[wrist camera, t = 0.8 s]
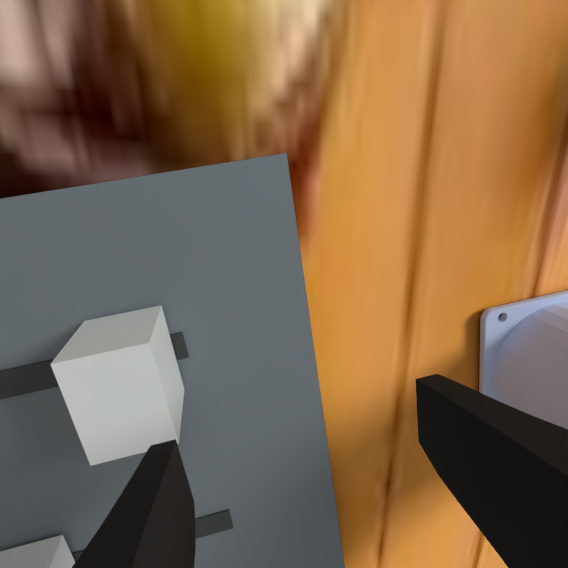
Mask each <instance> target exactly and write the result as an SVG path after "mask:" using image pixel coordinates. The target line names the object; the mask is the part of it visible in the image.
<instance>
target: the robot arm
mask: <svg viewBox="0 0 568 568" xmlns="http://www.w3.org/2000/svg"><path fill="white" fill-rule="evenodd" d="M501 313H502V315H501V317H500V318H499V319H498V317H499V315H500V314H501ZM416 394H417V415H418V436H419V442H420V444H421V446H422V448H423V449H424V451H425V453H426V455H427V456H428V458H429V460H430V462H431V463H432V465H433V467H434V468H435V470H436V472H437V473H438V475H439V476H440V478H441V479H442V480H443V482H444V483H445V485H446V486H447V487H448V489H449V490H450V491H451V493H452V494H453V495H454V497H455V498H456V499H457V501H458V502H459V503H460V505H461V506H462V507H463V508H464V510H465V511H466V512H467V514H468V515H469V516H470V518H471V519H472V520H473V521H474V523H475V524H476V525H477V527H478V528H479V529H480V531H481V532H482V533H483V535H484V536H485V537H486V539H487V540H488V541H489V542H490V544H491V545H492V546H493V548H494V549H495V550H496V552H497V553H498V554H499V556H500V557H501V558H502V559H503V561H504V562H505V564H506V565H507V566H508V568H568V290H566V291H562V292H557V293H553V294H549V295H544V296H540V297H536V298H531V299H527V300H523V301H518V302H514V303H510V304H505V305H501V306H496V307H492V308H489V309H486V310H485V311H484V312H483V313H482V315H481V319H480V384H479V392H477V391H475V390H473V389H471V388H469V387H466V386H464V385H462V384H460V383H457V382H455V381H453V380H451V379H448V378H446V377H443V376H441V375H438V374H435V375H431V376H427V377H423V378H419V379H416ZM195 548H196V540H195V504H194V499H193V496H192V492H191V489H190V486H189V482H188V479H187V475H186V472H185V469H184V465H183V462H182V459H181V455H180V452H179V448H178V445H177V442H176V439H175V440H171V441H167V442H163V443H159V444H155V445H151V446H150V447H149V449H148V450H147V452H146V453H145V455H144V457H143V458H142V460H141V462H140V463H139V465H138V467H137V468H136V470H135V472H134V473H133V475H132V477H131V478H130V480H129V482H128V483H127V485H126V487H125V488H124V490H123V492H122V493H121V495H120V496H119V498H118V500H117V501H116V503H115V504H114V506H113V507H112V509H111V510H110V512H109V514H108V515H107V517H106V518H105V520H104V521H103V523H102V525H101V526H100V528H99V529H98V531H97V532H96V533H95V535H94V536H93V538H92V539H91V541H90V542H89V544H88V545H87V546H86V548H85V549H84V551H83V552H82V554H81V555H80V556H79V558H78V559H77V561H76V562H75V564H74V565H73V566H72V568H194V562H195Z"/></svg>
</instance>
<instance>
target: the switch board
mask: <svg viewBox="0 0 568 568" xmlns="http://www.w3.org/2000/svg"><path fill="white" fill-rule="evenodd" d="M160 305H162V309H163V313H164V316H165V320H166V323H167V327H168V331H169V334H170V338H171V342H172V345H173V349H174V353H175V356H176V360H177V364H178V367H179V371H180V375H181V378H182V382H183V386H184V398H183V408H182V418H181V427H180V437H179V444H177V445H178V448H179V452H180V455H181V459H182V462H183V465H184V469H185V472H186V475H187V479H188V482H189V486H190V489H191V492H192V496H193V499H194V504H195V540H196V548H195V562H194V568H345V565H344V558H343V551H342V543H341V536H340V529H339V522H338V515H337V508H336V501H335V494H334V487H333V480H332V473H331V465H330V458H329V451H328V444H327V437H326V430H325V423H324V416H323V409H322V402H321V395H320V387H319V380H318V373H317V366H316V359H315V352H314V345H313V338H312V331H311V324H310V316H309V309H308V302H307V295H306V288H305V281H304V274H303V267H302V260H301V253H300V246H299V238H298V231H297V224H296V217H295V210H294V203H293V196H292V189H291V182H290V175H289V168H288V160H287V153H284V154H277V155H271V156H265V157H259V158H252V159H246V160H240V161H234V162H227V163H221V164H215V165H209V166H202V167H196V168H190V169H184V170H177V171H171V172H165V173H159V174H152V175H146V176H140V177H134V178H127V179H121V180H115V181H109V182H102V183H96V184H90V185H84V186H77V187H71V188H65V189H59V190H52V191H46V192H40V193H34V194H27V195H21V196H15V197H9V198H2V199H0V551H4V550H8V549H11V548H15V547H19V546H22V545H26V544H30V543H34V542H37V541H41V540H45V539H48V538H52V537H56V536H59V535H63V536H64V539H65V541H66V543H67V545H68V547H69V550H70V552H71V554H72V556H73V558H74V561H75V562H76V561H77V559H78V558H79V556H80V555H81V554H82V552H83V551H84V549H85V548H86V546H87V545H88V544H89V542H90V541H91V539H92V538H93V536H94V535H95V533H96V532H97V531H98V529H99V528H100V526H101V525H102V523H103V521H104V520H105V518H106V517H107V515H108V514H109V512H110V510H111V509H112V507H113V506H114V504H115V503H116V501H117V500H118V498H119V496H120V495H121V493H122V492H123V490H124V488H125V487H126V485H127V483H128V482H129V480H130V478H131V477H132V475H133V473H134V472H135V470H136V468H137V467H138V465H139V463H140V462H141V460H142V458H143V457H144V455H145V453H146V452H144V453H140V454H136V455H132V456H128V457H124V458H120V459H116V460H112V461H108V462H104V463H100V464H96V465H92V466H90V463H89V461H88V458H87V456H86V453H85V451H84V448H83V446H82V443H81V441H80V438H79V436H78V433H77V430H76V428H75V425H74V423H73V420H72V418H71V415H70V413H69V410H68V408H67V405H66V403H65V400H64V397H63V395H62V392H61V390H60V387H59V385H58V382H57V380H56V377H55V375H54V372H53V370H52V367H51V365H50V364H51V363H52V361H53V360H54V359H55V358H56V356H57V355H58V354H59V353H60V351H61V350H62V349H63V347H64V346H65V345H66V344H67V342H68V341H69V340H70V339H71V337H72V336H73V335H74V334H75V332H76V331H77V330H78V328H79V327H80V326H81V325H82V323H83V322H84V321H87V320H92V319H97V318H101V317H106V316H111V315H116V314H121V313H126V312H131V311H136V310H141V309H146V308H150V307H155V306H160Z"/></svg>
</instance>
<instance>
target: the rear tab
mask: <svg viewBox="0 0 568 568" xmlns="http://www.w3.org/2000/svg"><path fill="white" fill-rule="evenodd" d="M74 564H75V561H74V558H73V556H72V554H71V552H70V550H69V547H68V545H67V543H66V541H65V539H64V536H63V535H59V536H56V537H52V538H48V539H45V540H41V541H37V542H34V543H30V544H26V545H22V546H19V547H15V548H11V549H8V550H4V551H0V568H72V566H73V565H74Z"/></svg>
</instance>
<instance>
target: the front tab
mask: <svg viewBox="0 0 568 568" xmlns="http://www.w3.org/2000/svg"><path fill="white" fill-rule="evenodd" d="M50 365H51V367H52V370H53V372H54V375H55V377H56V380H57V382H58V385H59V387H60V390H61V392H62V395H63V397H64V400H65V403H66V405H67V408H68V410H69V413H70V415H71V418H72V420H73V423H74V425H75V428H76V430H77V433H78V436H79V438H80V441H81V443H82V446H83V448H84V451H85V453H86V456H87V458H88V461H89V463H90V466H92V465H96V464H100V463H104V462H108V461H112V460H116V459H120V458H124V457H128V456H132V455H136V454H140V453H144V452H147V450H148V449H149V447H150V446H151V445H155V444H159V443H163V442H167V441H171V440H175V439H176V442H177V444H179V437H180V427H181V418H182V408H183V398H184V386H183V382H182V378H181V375H180V371H179V367H178V364H177V360H176V356H175V353H174V349H173V345H172V342H171V338H170V334H169V331H168V327H167V323H166V320H165V316H164V313H163V309H162V305H160V306H155V307H150V308H146V309H141V310H136V311H131V312H126V313H121V314H116V315H111V316H106V317H101V318H97V319H92V320H87V321H84V322H83V323H82V325H81V326H80V327H79V328H78V330H77V331H76V332H75V334H74V335H73V336H72V337H71V339H70V340H69V341H68V342H67V344H66V345H65V346H64V347H63V349H62V350H61V351H60V353H59V354H58V355H57V356H56V358H55V359H54V360H53V361H52V363H51V364H50Z"/></svg>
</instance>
